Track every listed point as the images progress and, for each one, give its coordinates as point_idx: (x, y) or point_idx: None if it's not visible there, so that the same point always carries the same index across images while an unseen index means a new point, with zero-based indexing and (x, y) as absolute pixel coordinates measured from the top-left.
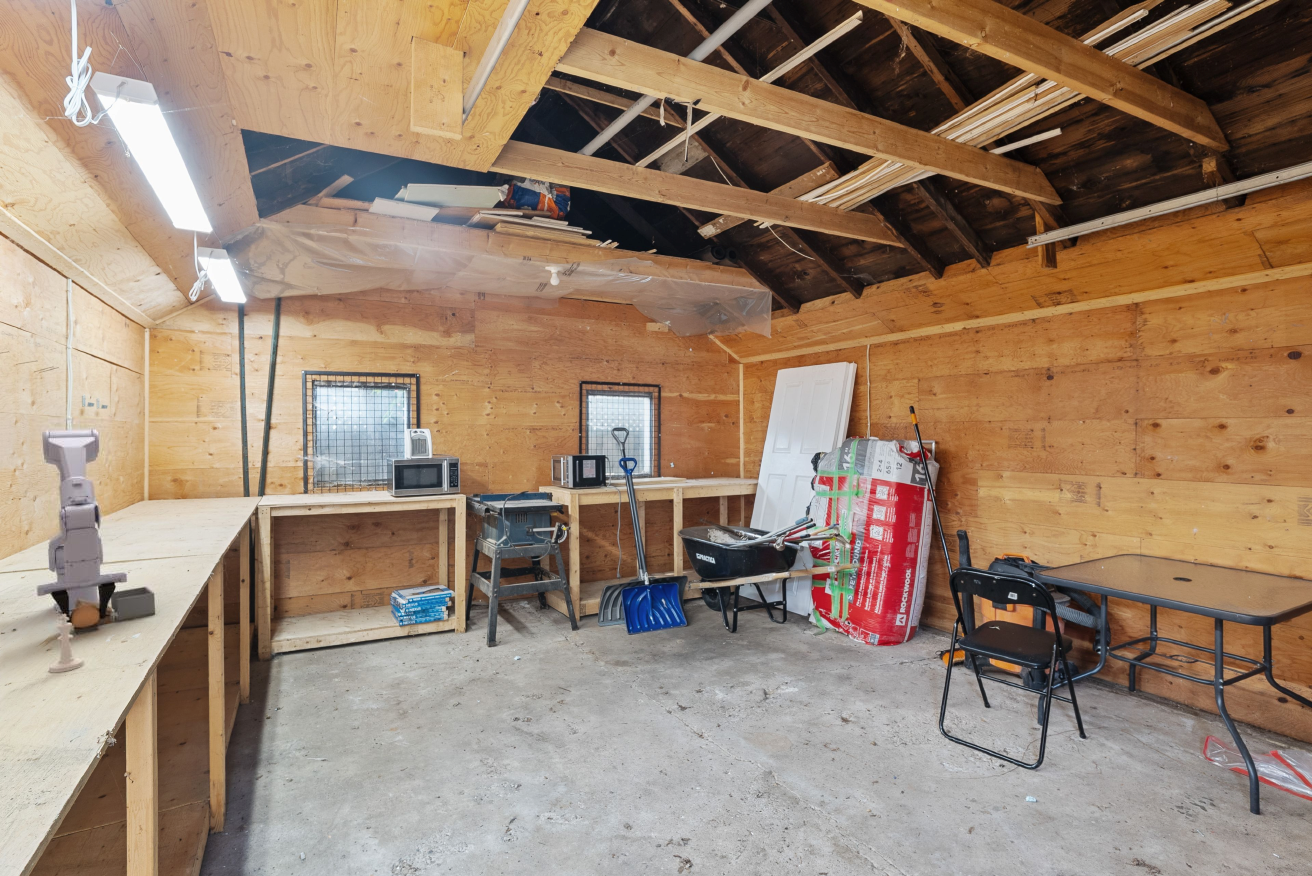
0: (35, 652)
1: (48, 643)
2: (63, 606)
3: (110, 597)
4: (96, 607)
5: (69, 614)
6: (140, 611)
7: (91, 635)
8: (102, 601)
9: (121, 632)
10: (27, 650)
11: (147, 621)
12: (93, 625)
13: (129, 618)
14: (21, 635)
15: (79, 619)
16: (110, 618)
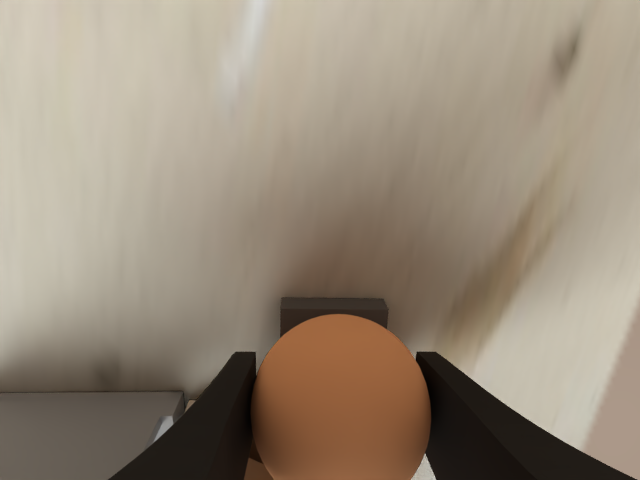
0: (627, 61)
1: (522, 217)
2: (553, 452)
3: (121, 470)
4: (267, 439)
5: (457, 392)
6: (35, 419)
7: (329, 193)
8: (213, 444)
9: (178, 100)
10: (629, 156)
11: (21, 255)
12: None
13: (116, 394)
14: None
15: (386, 337)
16: None
